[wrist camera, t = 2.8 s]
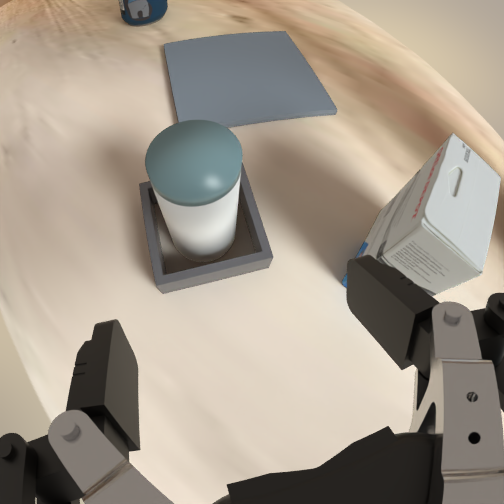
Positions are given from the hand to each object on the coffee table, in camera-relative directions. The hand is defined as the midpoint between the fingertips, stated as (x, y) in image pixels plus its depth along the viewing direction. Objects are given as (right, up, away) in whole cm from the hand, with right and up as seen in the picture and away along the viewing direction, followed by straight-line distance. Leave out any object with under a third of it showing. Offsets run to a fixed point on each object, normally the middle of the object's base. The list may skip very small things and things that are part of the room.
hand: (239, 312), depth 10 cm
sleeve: (-3, +4, +15) cm, 15 cm away
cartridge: (-3, +4, +15) cm, 15 cm away
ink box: (+12, +1, +15) cm, 19 cm away
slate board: (-1, +22, +21) cm, 31 cm away
